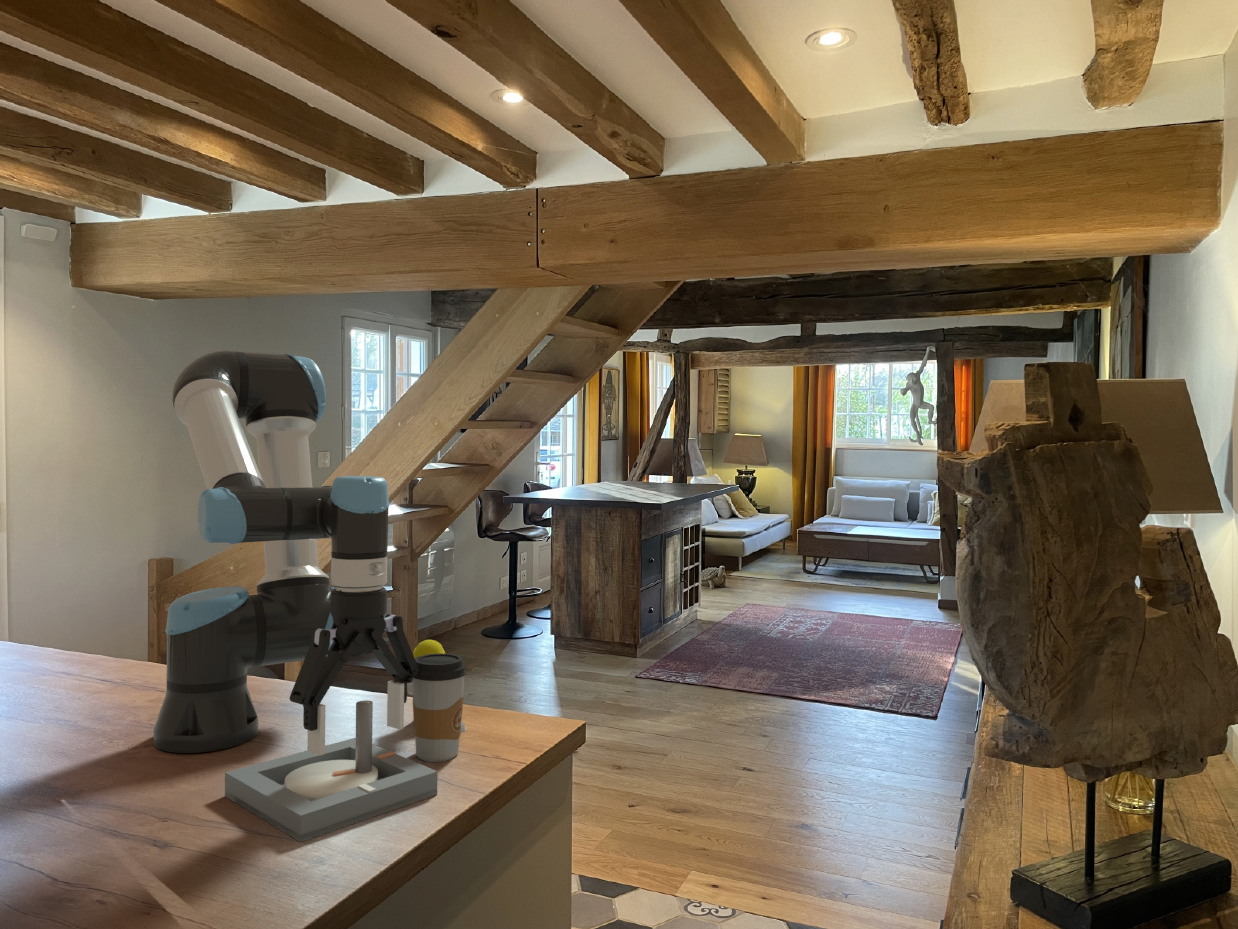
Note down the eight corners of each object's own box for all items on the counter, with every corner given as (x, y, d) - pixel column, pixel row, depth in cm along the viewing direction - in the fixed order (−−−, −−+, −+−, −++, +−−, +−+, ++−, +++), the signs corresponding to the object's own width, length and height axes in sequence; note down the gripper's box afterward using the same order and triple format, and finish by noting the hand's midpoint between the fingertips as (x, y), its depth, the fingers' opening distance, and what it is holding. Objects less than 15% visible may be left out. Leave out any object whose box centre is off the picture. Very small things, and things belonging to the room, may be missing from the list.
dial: (291, 811, 111) (292, 725, 111) (279, 779, 122) (279, 700, 122) (386, 795, 117) (387, 713, 117) (367, 765, 128) (368, 690, 127)
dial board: (224, 796, 119) (225, 770, 118) (356, 758, 134) (356, 736, 133) (300, 842, 105) (300, 814, 105) (437, 794, 120) (437, 770, 120)
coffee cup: (452, 768, 130) (453, 667, 130) (399, 763, 132) (401, 663, 131) (473, 749, 138) (474, 654, 138) (423, 745, 140) (424, 651, 140)
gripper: (298, 602, 110) (296, 771, 110) (444, 579, 130) (442, 722, 131) (262, 595, 114) (260, 758, 115) (409, 574, 135) (407, 713, 135)
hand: (357, 739), depth 123 cm, fingers open, 13 cm apart
